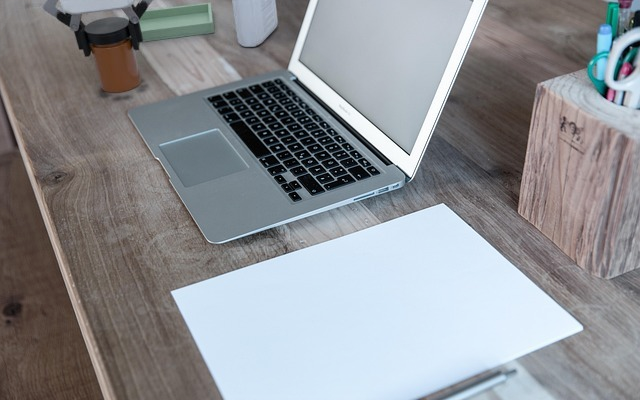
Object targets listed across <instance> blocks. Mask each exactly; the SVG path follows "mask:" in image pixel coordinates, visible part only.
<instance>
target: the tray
mask: <svg viewBox="0 0 640 400" xmlns="http://www.w3.org/2000/svg"><path fill="white" fill-rule="evenodd" d="M125 18H126V19H128V20H129V18H128V17H127V15H126V14H125ZM139 23H140V28H141V32H142V37H143V42H142V43H145V42H152V41H161V40H168V39H177V38H185V37H194V36H201V35H208V34H215V23H214V11H213V6H212V2H203V3H196V4H187V5H178V6H169V7H163V8H162V7H161V8H154V9H147V10H146V11H145V13H144V14H143V15H142V17H141V18H140V19H139Z"/></svg>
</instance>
